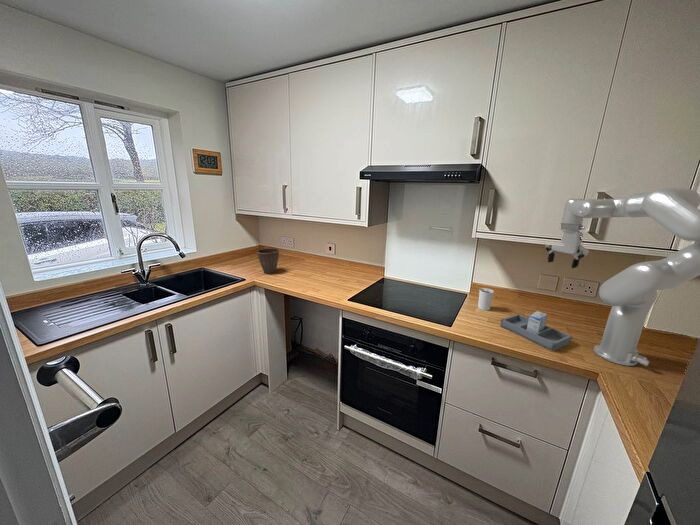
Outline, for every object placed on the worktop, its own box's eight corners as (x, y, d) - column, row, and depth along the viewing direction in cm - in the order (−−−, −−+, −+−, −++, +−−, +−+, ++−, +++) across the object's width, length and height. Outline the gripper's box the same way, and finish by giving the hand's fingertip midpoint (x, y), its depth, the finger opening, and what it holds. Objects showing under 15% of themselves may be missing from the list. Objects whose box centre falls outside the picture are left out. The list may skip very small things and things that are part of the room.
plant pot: (255, 275, 196) (253, 253, 192) (262, 269, 211) (261, 248, 206) (277, 275, 196) (275, 253, 192) (282, 269, 210) (281, 248, 206)
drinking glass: (491, 307, 151) (494, 289, 148) (490, 312, 145) (493, 293, 143) (477, 304, 154) (480, 287, 151) (476, 309, 149) (478, 291, 146)
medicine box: (532, 328, 128) (536, 310, 125) (543, 332, 124) (548, 314, 122) (525, 333, 123) (529, 315, 121) (536, 337, 120) (541, 319, 117)
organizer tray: (569, 343, 118) (571, 336, 117) (553, 351, 112) (554, 343, 111) (516, 320, 137) (518, 313, 136) (500, 326, 131) (501, 319, 130)
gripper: (598, 229, 118) (588, 268, 123) (553, 224, 133) (546, 259, 138) (589, 231, 115) (579, 271, 120) (544, 225, 130) (537, 261, 134)
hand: (561, 264), depth 129 cm, fingers open, 9 cm apart
